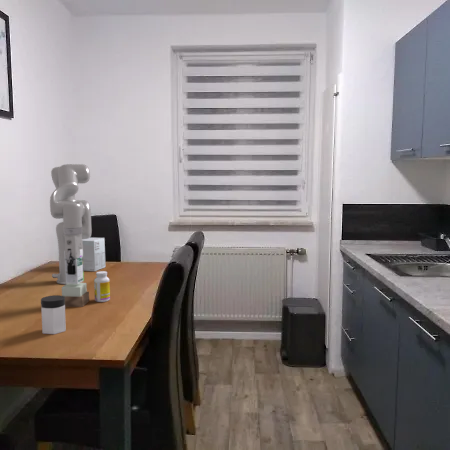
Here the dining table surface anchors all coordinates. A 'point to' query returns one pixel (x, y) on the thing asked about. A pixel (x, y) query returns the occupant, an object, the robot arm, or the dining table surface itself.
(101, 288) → the supplement bottle
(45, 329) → the jar
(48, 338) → the dining table surface
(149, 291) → the dining table surface
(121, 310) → the dining table surface
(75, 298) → the bottom block
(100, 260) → the supplement box
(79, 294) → the top block
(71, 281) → the syrup box
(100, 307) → the dining table surface
